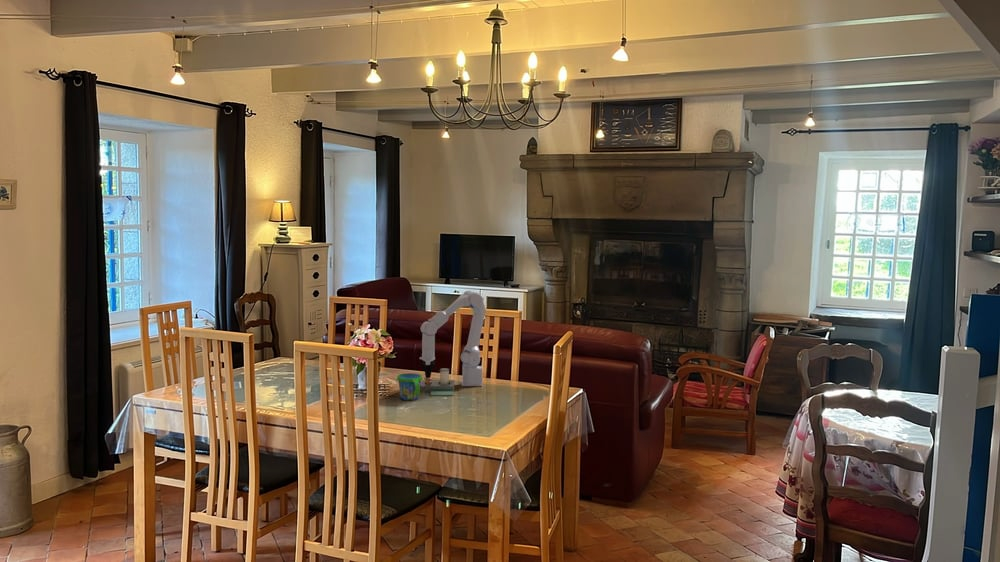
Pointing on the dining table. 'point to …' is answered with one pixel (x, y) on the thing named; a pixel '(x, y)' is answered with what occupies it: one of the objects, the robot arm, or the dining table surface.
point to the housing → (437, 386)
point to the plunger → (428, 380)
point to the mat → (441, 393)
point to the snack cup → (409, 386)
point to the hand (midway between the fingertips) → (428, 377)
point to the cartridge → (444, 376)
